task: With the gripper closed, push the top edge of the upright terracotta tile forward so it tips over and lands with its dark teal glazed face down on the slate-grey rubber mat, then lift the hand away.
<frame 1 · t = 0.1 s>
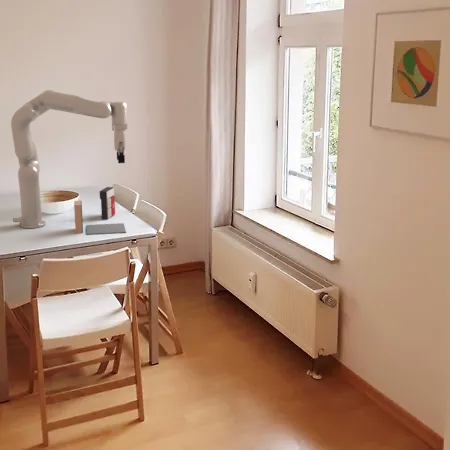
hand: (120, 161, 326), 31 cm above the table, tool pointing down, fingers open, 9 cm apart
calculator: (108, 217, 342), on the table
tile: (79, 230, 317), on the table
mat: (105, 229, 319), on the table
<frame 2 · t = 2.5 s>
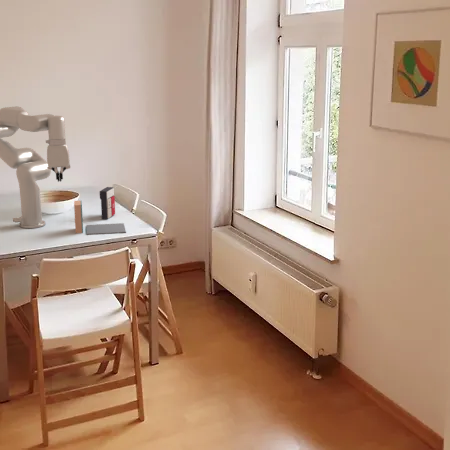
hand: (59, 180, 308), 25 cm above the table, tool pointing down, fingers closed
nothing on the table moved.
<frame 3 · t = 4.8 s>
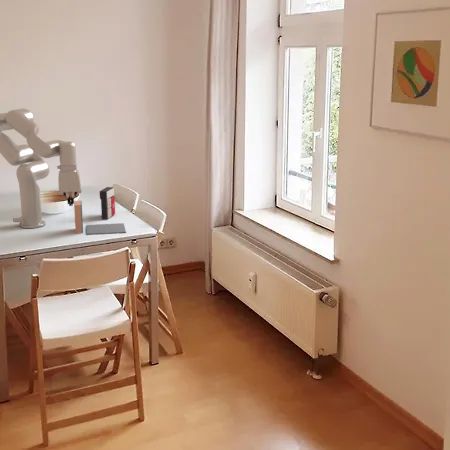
hand: (71, 205, 312), 13 cm above the table, tool pointing down, fingers closed
tile: (79, 230, 317), on the table, touching gripper
everything else where it was.
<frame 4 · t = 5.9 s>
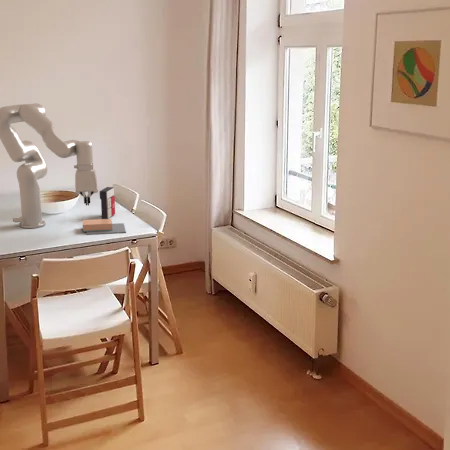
hand: (87, 204, 314), 13 cm above the table, tool pointing down, fingers closed
tile: (82, 225, 316), point 2 cm above the table, tilted 90°, touching mat
everything else where it was.
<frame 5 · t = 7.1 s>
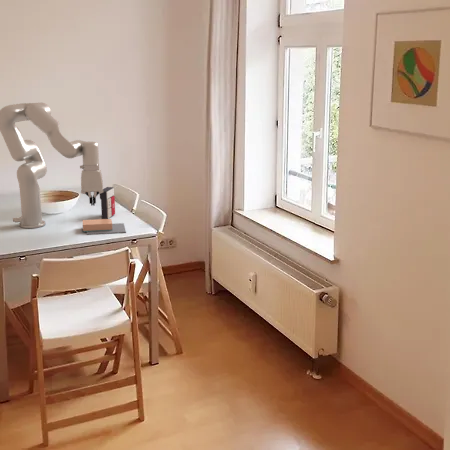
hand: (92, 204, 315), 13 cm above the table, tool pointing down, fingers closed
nothing on the table moved.
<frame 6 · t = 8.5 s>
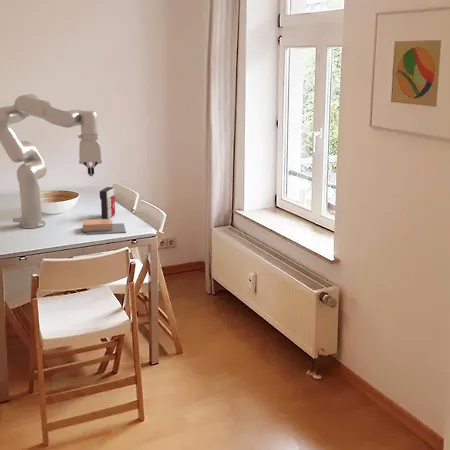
hand: (91, 175, 311), 27 cm above the table, tool pointing down, fingers closed
nothing on the table moved.
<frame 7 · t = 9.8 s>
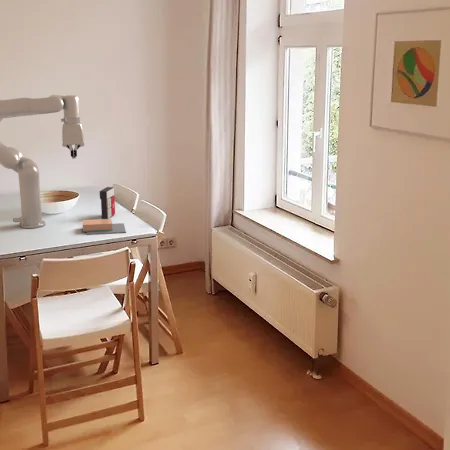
hand: (74, 158, 323), 33 cm above the table, tool pointing down, fingers closed
nothing on the table moved.
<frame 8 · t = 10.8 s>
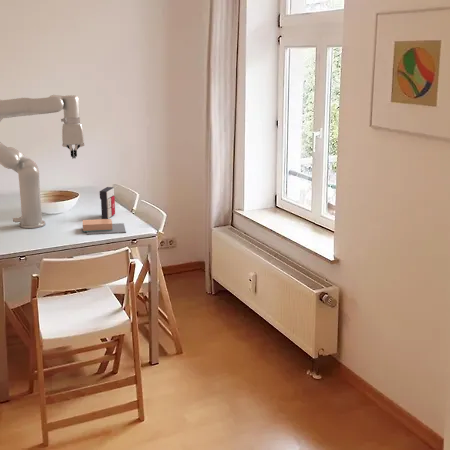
hand: (74, 158, 323), 33 cm above the table, tool pointing down, fingers closed
nothing on the table moved.
at the end: tile tilted 90°; tile touching mat; tile inside the target area (0.3 cm from its centre), point 2.2 cm above the table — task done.
